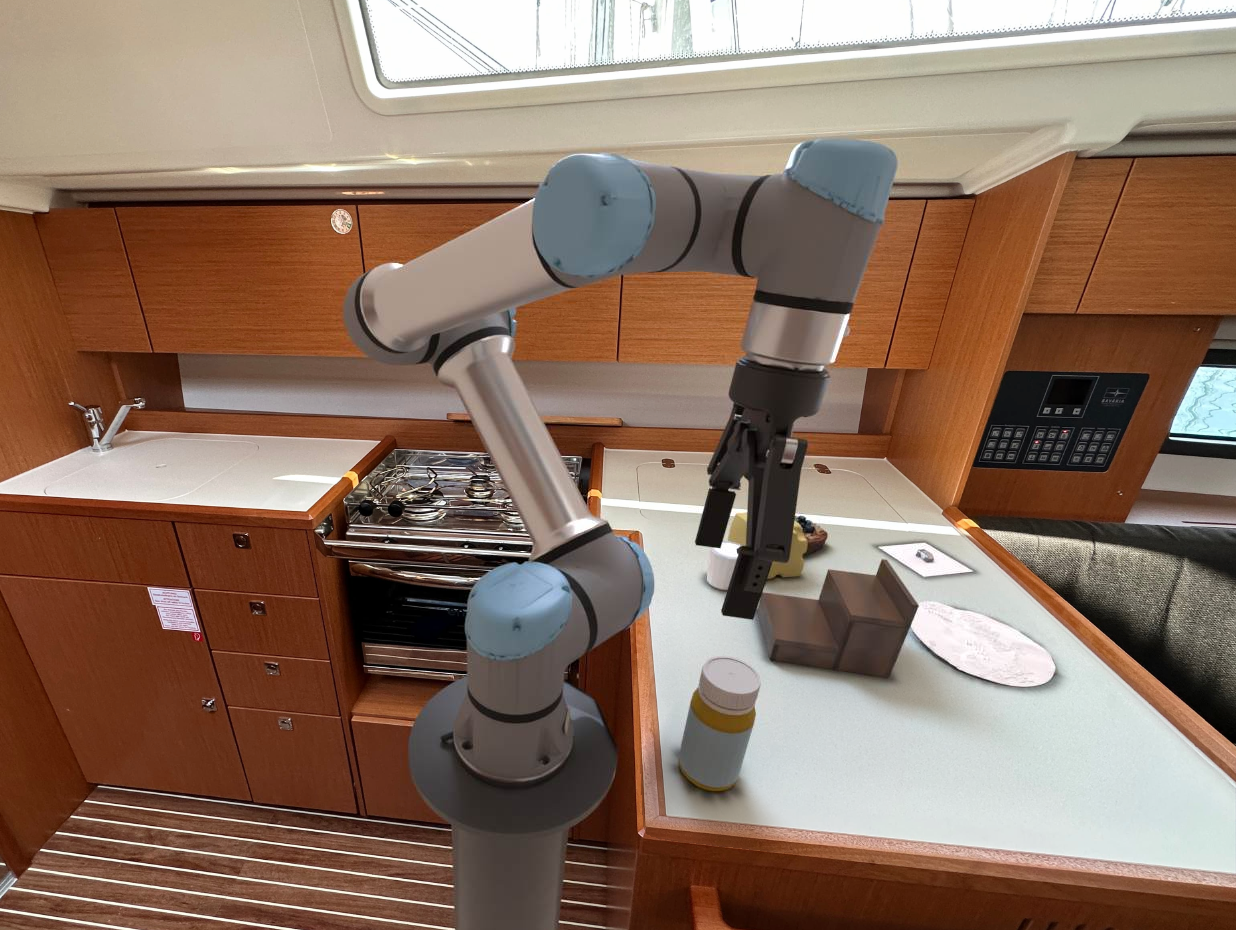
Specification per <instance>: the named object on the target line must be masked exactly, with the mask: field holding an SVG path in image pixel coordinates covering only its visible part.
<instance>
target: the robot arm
mask: <svg viewBox="0 0 1236 930" xmlns="http://www.w3.org/2000/svg"><path fill="white" fill-rule="evenodd" d="M897 169H898V157H897V155H896V152H895V151H894V150H893V149H891V148H890V147H888V146H886V145H885V144H882V143H878V142H876V141H875V142H874V141H870V140H862V139H853V138H832V137H831V138H819V139H816V140H806V141H805V140H804V141H802V142H800V143H799V144H797V145H796V146H795V147H794V148H793V150H792V151H791V153H790V155H789V159H788V160H787V164H786V165H785V166H784V171H783V173H774V174H765V175H757V174H756V175H753V174H752V175H751V174H735V173H716V172H708V171H704V170H703V171H702V170H696V169H691V168H685V167H677V166H672V165H671V166H670V165H664V164H657V163H651V162H647V161H642V160H636V159H630V158H628V157H625V156H622V155H620V154H617V153H605V152H598V153H576V154H572V155H568V156H566V157H564V158H562V159H560V160H558V161H557V162H556V163H554V164H553V165H552V166H551V167H550V168H549V170H548V174H547V175H546V176H545V178H544V180H543V181H542V182H541V183H540V184H539V186H538V187H537V190H536V193H535V196H534V198H533V199H530V200H529V201H527V202H525V203H523V204H520V205H519V206H517V207H514V208H512V209H510V210H509V211H507V212H505V213H503V214H500V215H499V216H497V217H495V218H493V219H491V220H489V221H487V222H485V223H483V224H481V225H479V226H477V227H476V228H473V229H471V230H470V231H467V232H465V233H464V234H462V235H459V236H457V237H456V238H454V239H451V240H450V241H447V242H446V243H444V244H441V245H440V246H438V247H436V248H434V249H432V250H429V251H428V252H426V253H424V254H422V255H420V256H418V257H416V258H414V259H412V260H410V261H408V262H406V263H404V264H401V263H395V262H389V263H383V264H380V265H378V266H376V267H373V268H372V269H369V270H368V271H366V272H364V273H363V274H361V275H360V276H358V277H357V279H356V280H354V281H353V282H352V284H351V285H350V286H349V288H348V289H347V291H346V293H345V296H344V301H343V305H342V318H343V323H344V327H345V330H346V333H347V334H348V337H349V338H350V340H351V341H352V343H353V345H354V346H355V347H356V348H357V349H358V350H360V351H361V353H363V354H364V355H365V356H367V357H368V358H370V359H372V360H374V361H377V362H379V363H381V364H385V365H389V366H414V365H423V364H429V365H430V366H431V368H432V370H433V372H434V373H435V375H436V378H437V380H438V381H439V383H440V384H441V385H442V386H445V387H448V388H451V389H455V391H456V393H457V395H458V397H459V399H460V401H461V403H462V405H463V406H464V409H465V411H466V413H467V415H468V417H469V420H470V421H471V423H472V425H473V427H474V429H475V431H476V434H477V435H478V437H479V439H480V441H481V443H482V445H483V447H484V448H485V449H484V450H485V451H486V453H487V455H488V456H489V459H490V460H491V463H492V465H493V467H494V468H495V470H496V473H497V475H498V477H499V479H500V481H501V483H502V485H503V486H504V489H505V490H506V493H507V495H508V496H509V498H510V501H511V502H512V505H513V507H514V509H515V510H516V512H517V515H518V516H519V518H520V520H521V523H522V524H523V527H524V528H525V530H526V532H527V535H528V537H529V539H530V540H531V542H532V549H531V552H530V555H529V558H528V561H524V562H523V563H521V564H519V563H518V562H515V561H514V562H510V563H505V564H503V565H500V566H497V567H495V568H493V569H492V570H489V571H488V572H486V573H485V574H483V575H482V576H481V577H480V578H479V579H478V580H477V581H476V583H475V584H474V585H473V587H472V588H471V590H470V592H469V594H468V598H467V605H466V608H467V609H466V615H465V618H464V633H465V637H466V677H467V693H466V695H465V697H464V700H463V702H462V705H461V707H460V709H459V712H458V714H457V717H456V720H455V723H454V728H453V731H452V732H450V733H447V734H445V735H442V736H441V741H442V742H445V741H448V740H450V739H454V750H455V753H456V756H457V758H458V760H459V762H460V763H461V765H462V766H463V767H464V768H465V769H466V771H467V772H469V773H470V774H471V775H472V776H474V777H475V778H477V779H478V780H480V781H482V782H484V783H486V784H489V785H492V786H496V787H500V788H508V789H520V788H528V787H532V786H536V785H539V784H541V783H544V782H546V781H548V780H550V779H551V778H553V777H554V776H555V775H557V774H558V773H559V772H560V771H561V770H562V769H563V768H564V767H565V765H566V764H567V762H568V760H569V758H570V756H571V753H572V748H573V738H574V729H573V724H572V720H571V717H570V713H571V710H570V707H569V706H568V708H567V705H566V702H565V699H564V696H563V685H564V680H565V675H566V674H565V673H566V669H567V667H568V666H569V665H570V664H572V663H573V662H575V661H576V660H578V659H580V658H581V657H583V656H584V655H585V654H588V653H589V652H590V651H592V650H594V649H595V648H597V647H598V646H600V645H601V644H602V643H604V642H606V641H608V640H609V639H610V638H612V637H614V636H615V635H616V634H618V633H621V632H623V631H626V630H627V629H629V628H630V627H631V626H632V625H633V624H634V623H635V622H636V621H637V620H638V619H640V618H641V617H642V616H643V615H644V614H645V613H646V612H647V611H648V610H649V607H650V606H651V604H652V600H653V596H654V593H655V576H654V575H655V574H654V570H653V567H652V564H651V562H650V560H649V557H648V556H647V554H646V552H645V551H644V550H643V549H642V547H641V546H640V545H639V544H638V543H637V542H636V541H631V539H630V538H629V537H627V536H624V535H617V534H615V532H614V531H613V528H612V527H611V525H610V523H609V521H608V520H607V519H604V518H601V517H598V516H595V515H593V514H592V513H591V511H590V509H589V507H588V506H587V503H586V502H585V500H584V497H583V495H582V494H581V492H580V489H579V488H578V486H577V484H576V481H575V480H574V478H573V476H572V474H571V472H570V471H569V469H568V466H567V464H566V463H565V461H564V459H563V457H562V454H561V453H560V451H559V449H558V447H557V445H556V443H555V441H554V439H553V438H552V435H551V434H550V432H549V430H548V428H547V426H546V424H545V422H544V420H543V417H542V416H541V414H540V412H539V410H538V408H537V406H536V405H535V403H534V401H533V398H532V396H531V395H530V393H529V391H528V389H527V387H526V385H525V383H524V381H523V379H522V377H521V374H520V373H519V371H518V369H517V367H516V365H515V364H514V362H513V360H512V358H513V355H514V352H515V350H516V341H515V339H514V338H515V336H516V331H517V322H518V321H517V320H515V318H514V317H515V316H516V314H517V311H516V309H517V308H518V307H521V306H525V305H528V304H532V303H533V302H536V301H540V300H543V299H546V298H549V297H552V296H555V295H559V294H561V293H564V292H567V291H571V290H573V289H577V288H580V287H585V286H589V285H592V284H596V283H599V282H602V281H606V280H607V279H611V278H615V277H618V276H623V275H631V274H644V273H646V274H654V273H685V272H691V273H692V272H700V273H710V274H719V275H720V274H721V275H728V276H740V277H743V278H751V279H756V284H755V290H754V294H753V297H752V300H751V303H750V306H749V310H748V314H747V318H746V321H745V326H744V329H743V332H742V337H741V340H740V345H739V347H740V349H741V350H742V351H743V353H745V354H744V355H742V356H741V357H739V359H736V361H735V366H734V370H733V374H732V378H731V382H730V386H729V390H728V398H729V400H731V402H733V404H732V409H731V411H730V415H729V418H728V420H727V422H726V425H725V428H724V430H723V432H722V434H721V436H720V437H719V438H720V439H719V440H718V443H717V445H716V448H715V450H714V452H713V454H712V457H711V458H710V461H709V464H708V466H707V467H706V473H707V475H708V476H709V479H708V486H709V487H711V488H708V491H707V494H706V499H705V502H704V506H703V509H702V513H701V517H700V521H699V525H698V529H697V532H696V536H695V540H694V544H695V546H700V547H705V548H710V547H713V548H721V545H722V542H723V541H724V539H725V535H726V531H727V528H728V524H729V520H730V518H731V514H732V510H733V507H734V503H735V500H736V497H737V493H736V491H741V486H742V484H741V480H742V479H743V477H744V479H746V480H747V483H748V486H747V509H746V510H747V511H746V513H747V529H746V546H740V547H738V548H737V554H738V557H737V560H736V564H735V567H734V570H733V573H732V577H731V580H730V583H729V587H728V590H726V593H725V597H724V600H723V602H722V607H721V609H720V612H721V614H722V617H729V618H737V619H744V620H745V619H746V620H751V621H753V620H754V619H755V616H756V613H757V610H758V606H759V602H760V599H761V595H762V592H764V590H765V586H766V584H767V580H768V579H767V578H768V575H769V572H770V569H771V566H772V563H773V562H780V563H787V562H788V561H789V558H790V551H791V544H792V536H793V528H794V521H795V516H796V513H797V505H798V497H799V489H800V483H801V475H802V469H803V465H804V461H805V457H806V454H807V451H808V448H809V443H808V440H807V439H806V438H798V437H793V431H794V427H795V425H794V423H795V421H797V420H798V419H800V418H809V417H813V416H815V415H816V414H818V413H819V411H820V408H821V406H822V403H823V399H824V397H825V395H826V391H827V388H828V385H829V382H830V378H831V375H830V374H829V371H828V370H827V369H825V367H826V366H830V365H832V364H833V363H835V361H836V358H837V355H838V353H839V351H840V347H841V345H842V340H843V338H846V337H848V336H849V334H850V332H851V328H850V326H849V325H848V323H849V319H850V316H851V313H852V311H853V308H854V306H855V305H854V304H855V301H856V299H857V295H858V293H859V289H860V287H861V284H862V281H863V279H864V275H865V273H866V270H867V267H868V264H869V261H870V258H871V256H872V253H873V250H874V248H875V244H876V242H877V240H878V236H879V234H880V230H881V228H882V226H884V223H885V220H886V217H885V214H886V210H887V206H888V202H889V198H890V196H891V191H892V188H893V185H894V181H895V177H896V173H897V171H898V170H897ZM732 490H733V491H732ZM734 490H736V491H734Z"/></svg>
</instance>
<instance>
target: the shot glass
mask: <svg viewBox="0 0 1236 930" xmlns="http://www.w3.org/2000/svg"><path fill="white" fill-rule="evenodd" d="M740 546H742V545H740V544H738V543H734V542H730V541H728V540H723V542H722V545H721V548H713V547H709V555H708V561H707V562H708V563H707V575H706V581H707V583H708V584H709V585H710V586H712V587H714V588H716V589H719V590H723V591H727V590H728V587H729V583H730V580H731V577H732V573H733V570H734V567H735V564H736V560H737V557H738V554H737V548H738V547H740Z"/></svg>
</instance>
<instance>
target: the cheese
mask: <svg viewBox="0 0 1236 930" xmlns="http://www.w3.org/2000/svg"><path fill="white" fill-rule="evenodd" d="M746 529H747V512H736V513H735V515H734V517H733V519H732V523H731V524H730V528H729V531H728V537H727V541H730V542H734V543H738V544H740V545H742V546H746ZM806 550H807V540H806V538H805V537H804V535H803V531H802V527H801V525H800V524H799V523H798V522H796V521H794V528H793V536H792V544H791V551H790V558H789V561H788V562H787V563H780V562H773V563H772V566H771V569H770V572H769V575H768V578H767V580H770V579H773V578H775V577H776V576H780V577H782V578H793V577H800V576H801V574H802V572H803V570H804V568H805V567H804V566H805V561H804V557H802V556H803V553H805V552H806Z"/></svg>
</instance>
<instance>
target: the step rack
mask: <svg viewBox="0 0 1236 930" xmlns="http://www.w3.org/2000/svg"><path fill="white" fill-rule="evenodd" d="M918 604H919V603H918V602H917V600H916V599H915V598H914V596H913V595H912V594H911V592H910V590H909V589H908V588H907V586H906V584H904V582H903V581H902V579H901V578H900V576H899V575H898V573H897V572H896V571H895V569H894V567H893V566H892V564H891V563H890V562H889V560H888V559H884V558H882V559H881V560H880V562H879V566H878V568H877V572H876V574H869V573H861V572H853V571H852V572H851V571H845V570H838V569H830V568H828V569H827V572H826V574H825V578H824V581H823V584H822V587H821V590H820V594H819V597H818V599H814V598H807V597H801V596H800V597H799V596H792V595H784V594H778V593H769V592H764V591H763V592H762V595H761V598H760V601H759V604H758V607H757V610H756V613H757V617H758V620H759V624H760V628H761V632H762V636H763V639H764V643H765V647H766V651H767V655H768V658H769V660H770V661H776V662H782V663H790V664H795V665H803V666H807V667H815V668H822V669H828V670H834V671H842V672H847V673H856V674H861V675H867V676H874V677H881V678H887V679H888V678H889V679H890V677H891V674H892V672H893V669H894V667H895V665H896V662H897V659H898V658H899V656H900V653H901V651H902V648H903V646H904V643H905V640H906V638H907V636H908V633H909V631H910V629H911V624H912V621H913V619H914V617H915V614H916V612H917V609H918V607H919V605H918Z"/></svg>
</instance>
